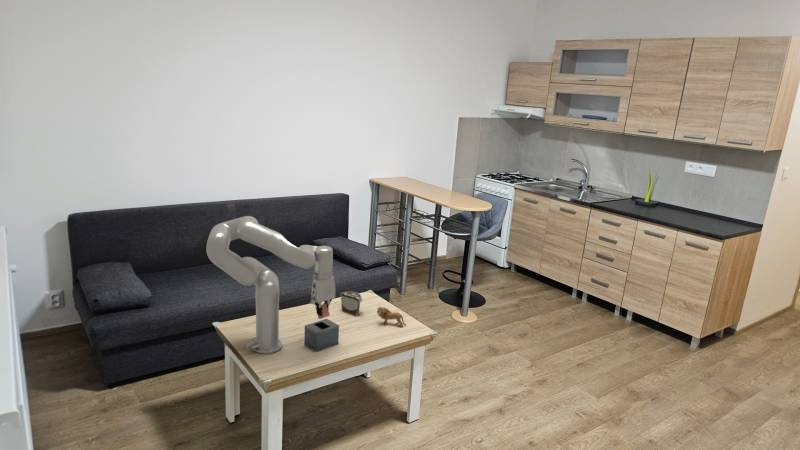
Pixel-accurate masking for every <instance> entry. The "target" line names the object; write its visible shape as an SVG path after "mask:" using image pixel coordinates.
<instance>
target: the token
mask: <svg viewBox="0 0 800 450" xmlns="http://www.w3.org/2000/svg"><path fill="white" fill-rule="evenodd" d="M321 307H322V316H319V315H318V314H317V316H318V320H320V319H321V320H322V319H324V318H326V317H330V316H331V314H330V311H328V308H327V304H324V303H322V304H321ZM315 310H316V312H317V306H315Z"/></svg>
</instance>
